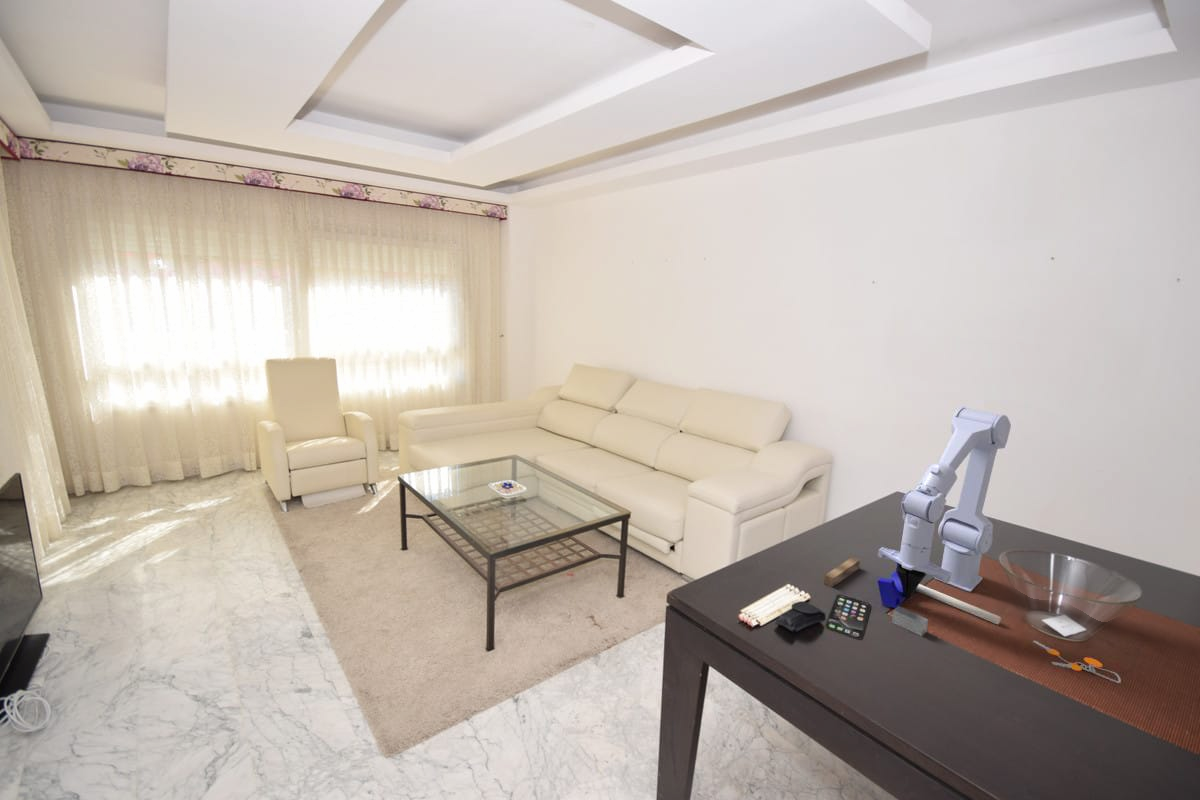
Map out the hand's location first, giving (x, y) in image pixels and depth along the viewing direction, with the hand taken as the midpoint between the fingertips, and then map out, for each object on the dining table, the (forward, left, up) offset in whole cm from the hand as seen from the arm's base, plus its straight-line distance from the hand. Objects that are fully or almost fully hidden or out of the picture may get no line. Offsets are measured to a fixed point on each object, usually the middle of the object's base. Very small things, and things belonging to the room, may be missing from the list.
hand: (908, 596), depth 120 cm
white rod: (-8, +6, -2) cm, 10 cm away
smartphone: (+15, -6, -3) cm, 16 cm away
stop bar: (0, -15, -2) cm, 16 cm away
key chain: (-6, +29, -3) cm, 29 cm away
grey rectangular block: (+8, +4, -2) cm, 9 cm away
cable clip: (-1, -3, -2) cm, 3 cm away
